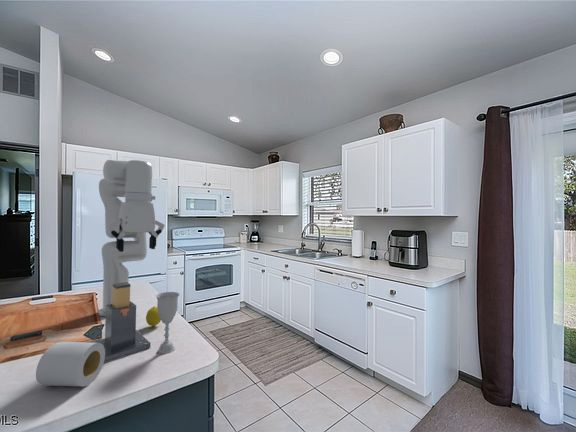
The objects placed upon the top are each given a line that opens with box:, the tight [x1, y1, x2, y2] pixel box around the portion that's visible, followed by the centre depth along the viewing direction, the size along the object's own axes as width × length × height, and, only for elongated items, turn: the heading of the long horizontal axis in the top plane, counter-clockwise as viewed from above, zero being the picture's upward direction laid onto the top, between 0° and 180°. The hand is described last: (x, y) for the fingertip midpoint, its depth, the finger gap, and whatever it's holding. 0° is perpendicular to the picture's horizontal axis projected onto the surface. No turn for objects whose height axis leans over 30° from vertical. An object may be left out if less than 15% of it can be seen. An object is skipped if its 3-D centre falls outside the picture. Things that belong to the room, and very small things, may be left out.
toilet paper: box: [35, 341, 105, 387], centre depth 70 cm, size 10×10×10 cm
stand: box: [89, 300, 151, 364], centre depth 88 cm, size 14×14×14 cm
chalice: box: [155, 291, 180, 354], centre depth 88 cm, size 7×7×18 cm
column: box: [112, 282, 131, 309], centre depth 88 cm, size 4×4×19 cm
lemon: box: [145, 305, 162, 328], centre depth 105 cm, size 6×6×8 cm
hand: (136, 249), depth 89 cm, fingers open, 9 cm apart
